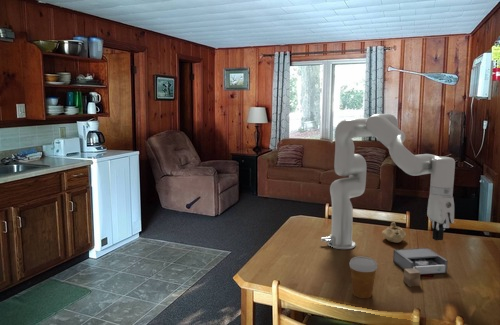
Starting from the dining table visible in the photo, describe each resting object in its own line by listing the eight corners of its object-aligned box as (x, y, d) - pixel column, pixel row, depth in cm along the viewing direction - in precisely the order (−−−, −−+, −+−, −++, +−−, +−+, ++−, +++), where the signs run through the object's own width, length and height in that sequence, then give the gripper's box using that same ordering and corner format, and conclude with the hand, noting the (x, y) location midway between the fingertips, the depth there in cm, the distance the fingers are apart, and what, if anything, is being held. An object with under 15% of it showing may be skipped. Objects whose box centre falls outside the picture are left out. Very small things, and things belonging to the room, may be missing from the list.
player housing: (410, 275, 153) (411, 262, 153) (393, 261, 167) (393, 249, 166) (446, 272, 155) (447, 260, 154) (426, 259, 169) (427, 247, 168)
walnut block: (409, 286, 144) (409, 273, 143) (403, 281, 148) (404, 268, 147) (419, 285, 144) (420, 272, 144) (413, 281, 148) (414, 268, 148)
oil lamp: (389, 247, 184) (389, 230, 183) (378, 236, 199) (378, 221, 197) (412, 246, 184) (413, 230, 183) (400, 236, 199) (400, 220, 198)
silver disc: (416, 267, 157) (416, 262, 156) (407, 260, 163) (407, 256, 163) (432, 266, 158) (433, 261, 157) (422, 259, 164) (423, 254, 164)
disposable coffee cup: (344, 288, 143) (345, 256, 141) (370, 287, 144) (371, 255, 142) (353, 301, 133) (354, 267, 132) (381, 299, 134) (382, 266, 133)
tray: (416, 274, 152) (416, 267, 152) (398, 260, 166) (398, 254, 165) (445, 272, 153) (446, 265, 153) (425, 259, 167) (425, 252, 167)
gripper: (464, 195, 137) (460, 246, 140) (438, 186, 152) (435, 232, 155) (444, 196, 136) (440, 247, 139) (420, 186, 151) (417, 233, 154)
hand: (437, 239), depth 147 cm, fingers closed
